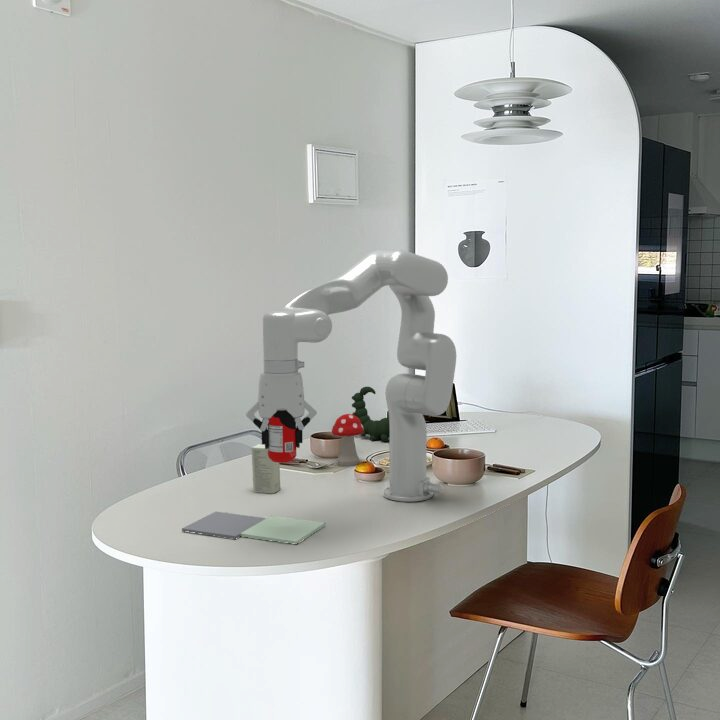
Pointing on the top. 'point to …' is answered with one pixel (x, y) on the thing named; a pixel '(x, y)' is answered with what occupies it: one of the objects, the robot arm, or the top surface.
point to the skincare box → (264, 471)
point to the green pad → (282, 529)
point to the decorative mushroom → (347, 438)
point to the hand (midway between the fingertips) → (282, 446)
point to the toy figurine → (370, 427)
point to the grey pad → (223, 524)
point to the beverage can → (282, 437)
